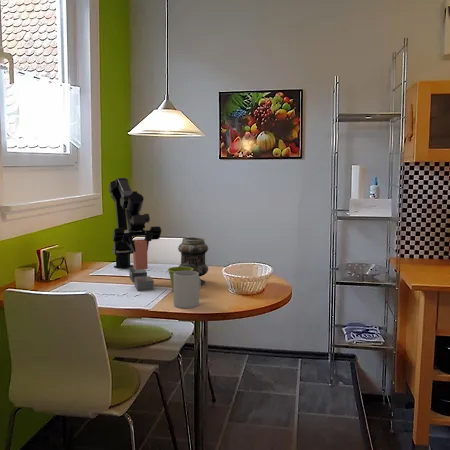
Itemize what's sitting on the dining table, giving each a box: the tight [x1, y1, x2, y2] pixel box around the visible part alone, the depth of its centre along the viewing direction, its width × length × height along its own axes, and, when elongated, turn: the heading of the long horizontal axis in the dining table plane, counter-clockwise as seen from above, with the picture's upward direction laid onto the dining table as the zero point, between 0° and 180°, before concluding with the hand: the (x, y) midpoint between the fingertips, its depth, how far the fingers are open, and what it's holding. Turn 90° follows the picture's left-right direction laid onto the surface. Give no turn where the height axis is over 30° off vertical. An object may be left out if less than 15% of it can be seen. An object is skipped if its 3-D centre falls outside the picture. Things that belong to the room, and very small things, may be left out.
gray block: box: [128, 268, 154, 292], centre depth 205 cm, size 23×6×4 cm, turn 18°
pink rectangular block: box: [132, 239, 148, 270], centre depth 204 cm, size 4×4×11 cm
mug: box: [173, 271, 202, 309], centre depth 176 cm, size 12×8×11 cm
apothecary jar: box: [177, 236, 209, 286], centre depth 205 cm, size 12×12×18 cm
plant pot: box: [167, 266, 193, 294], centre depth 192 cm, size 9×9×9 cm
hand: (141, 251), depth 202 cm, fingers closed on pink rectangular block, 4 cm apart
